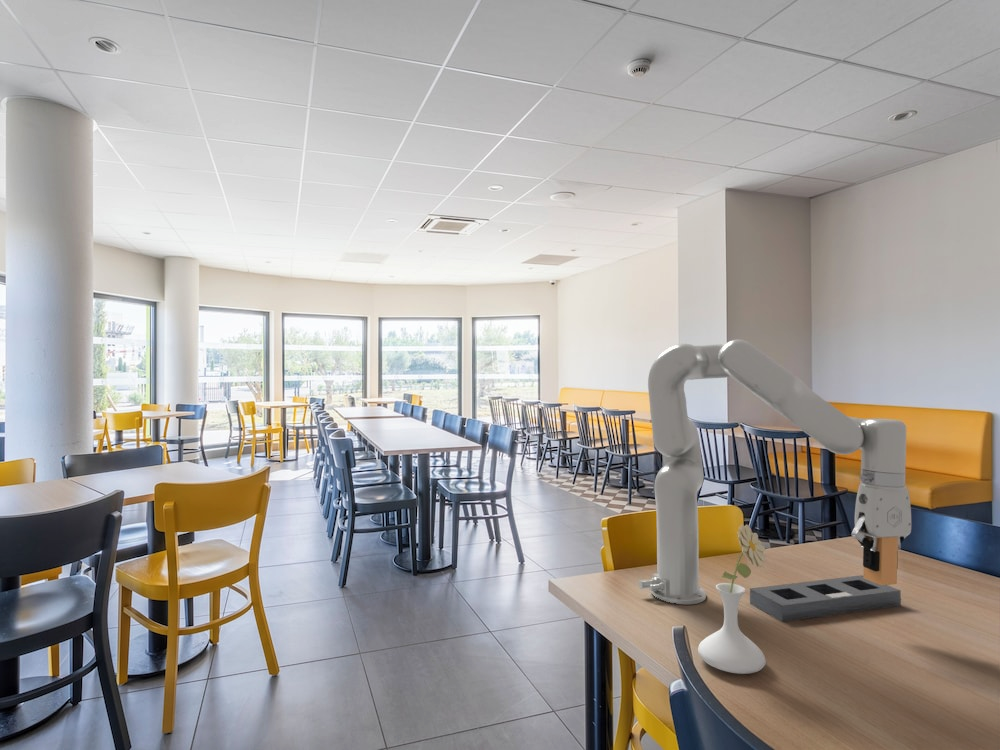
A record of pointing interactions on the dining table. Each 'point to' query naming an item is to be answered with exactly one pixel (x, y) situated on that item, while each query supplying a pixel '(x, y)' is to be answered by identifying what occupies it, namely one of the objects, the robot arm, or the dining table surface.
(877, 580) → the square peg
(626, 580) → the dining table surface
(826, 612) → the peg board
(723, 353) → the robot arm
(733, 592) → the flower in vase
